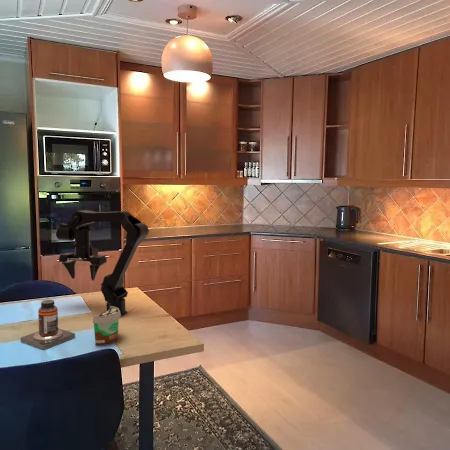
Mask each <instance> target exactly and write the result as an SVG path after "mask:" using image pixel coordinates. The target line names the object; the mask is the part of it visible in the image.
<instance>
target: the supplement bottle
mask: <svg viewBox="0 0 450 450" xmlns="http://www.w3.org/2000/svg"><path fill="white" fill-rule="evenodd" d="M40 304H41V305H40V307H39V308H38V310H37V311H38V313H37V314H38V315H37V316H38V331H39V335H41V336H44V337H46V336H47V337H48V336H53V335H55V334H57V333H58V328H59V313H58V311H59V309H58V307H57V306H56V305H55V300H54V299H44V300H42V301H41V303H40Z"/></svg>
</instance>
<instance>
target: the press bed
mask: <svg viewBox="0 0 450 450" xmlns="http://www.w3.org/2000/svg"><path fill="white" fill-rule="evenodd" d="M75 338H76V333H74V332H72V331H68V330H64V329H63V328H62V329H61V328H59V327H58V333H57V334H55V335H53V336H48V337H47V336H46V337H44V336H41V335H39V330H38V331H35V332H33V333H29V334H27V335H23V336H21V337H20V342H21V343H22V344H25V343H26V345H27V346H32V347H34V348H37V349H39V348H40V350H42V349H43V351H45V350H48V349H50V348H53V347H55V346H58V345H60V344H63V343H65V342H67V341H70V340H73V339H75Z"/></svg>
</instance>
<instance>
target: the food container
mask: <svg viewBox="0 0 450 450" xmlns="http://www.w3.org/2000/svg"><path fill="white" fill-rule="evenodd" d="M121 317H122V316H121V313H120V310H119V308H117V307H114V306H110V309H109V310H107V309H106V310H104V311H103V312H101V313H100V314H99V315H98V316H95V315H94V316H93V318H92V323H93V327H94V328H93V330H94V331H93V332H94V342H95V343H94V344H95V346H105V345H111V344H114V343H115V342H117V341H118V338H119V337H118V335H119V322H120V321H119V320H120V319H121Z"/></svg>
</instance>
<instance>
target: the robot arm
mask: <svg viewBox="0 0 450 450" xmlns="http://www.w3.org/2000/svg"><path fill="white" fill-rule="evenodd" d="M101 222H102V223H106V222H119V223H120V225H121V227H122V229H123V231H125V232H126V234H125V245H124V246H123V249H122V250H121V253H120V255H119V257H118V260H117V261H116V264H115V266H114V268H113V270H112V273H109V274H107V275H105V276H104V277H103V281H102V282H101V283H100V286H101V287H100V291H101V293H102V295H103V298H104V301H105V302H106V311H107V310H109V309H110V306H114V307H117V308H119V310H120V313H121V317H122V316H124V315H125V314H128V311H127V310H126V298H127V296H128V294H129V291H127V289H126V288H125V287H124V284H125V282H124V281H125V280H124V276H125V274H126V273H127V270H128V268H129V265H130V264H131V261H132V260H133V257H134V255H135V252H136V251H137V248H138V247H139V246H140V245H141V244H142V243H143V242H144V241H145V239H146V237H147V236H148V235H149V232H150V231H149V227H148V226H147V224H145V223H143V222H142V221H141V220H140V219H138V218H137V217H135V216H133V215H132V214H131V213H130V212H129V211H127V210H121V211H102V212H100V211H93V210H88V209H85V210H84V209H83V210H75V211H73V213H72V214H71V217H70V219H69V221H68V223H59V224H58V226H59V227H58V228H57V229H56V232H55V236H56V239H57V240H58V241H67V242H68V241H70V242H73V241H74V244H72V248H74V252H66V253H62V254H60V255H59V256H58V262H60V263H61V265H63V266H64V267H65V269H66V270H67V273H69V275H70V277H71V279H72V280H73V279H75V277H76V276H75V275H76V268H75V267H76V266H75V265H76V263H77V261H79V262H82V261H83V262H89V263H90V264H89V269H90V270H89V271H90V279H91V281H93V282H94V281H95V279H96V276H97V273H98V270H99V268H100V267H101V266H103V265H104V264H105V263H107V261H108V260H107V257H106V256H105V255H101V254H99V250H100V249H99V248H97V247H94V246H93V243H91V239H90V238H91V237H90V236H91V235H90V234H91V233H90V232H93V231H95V228H94V227H93V226H92V225H91V224H93V223H101ZM84 225H86V226H84Z"/></svg>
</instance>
